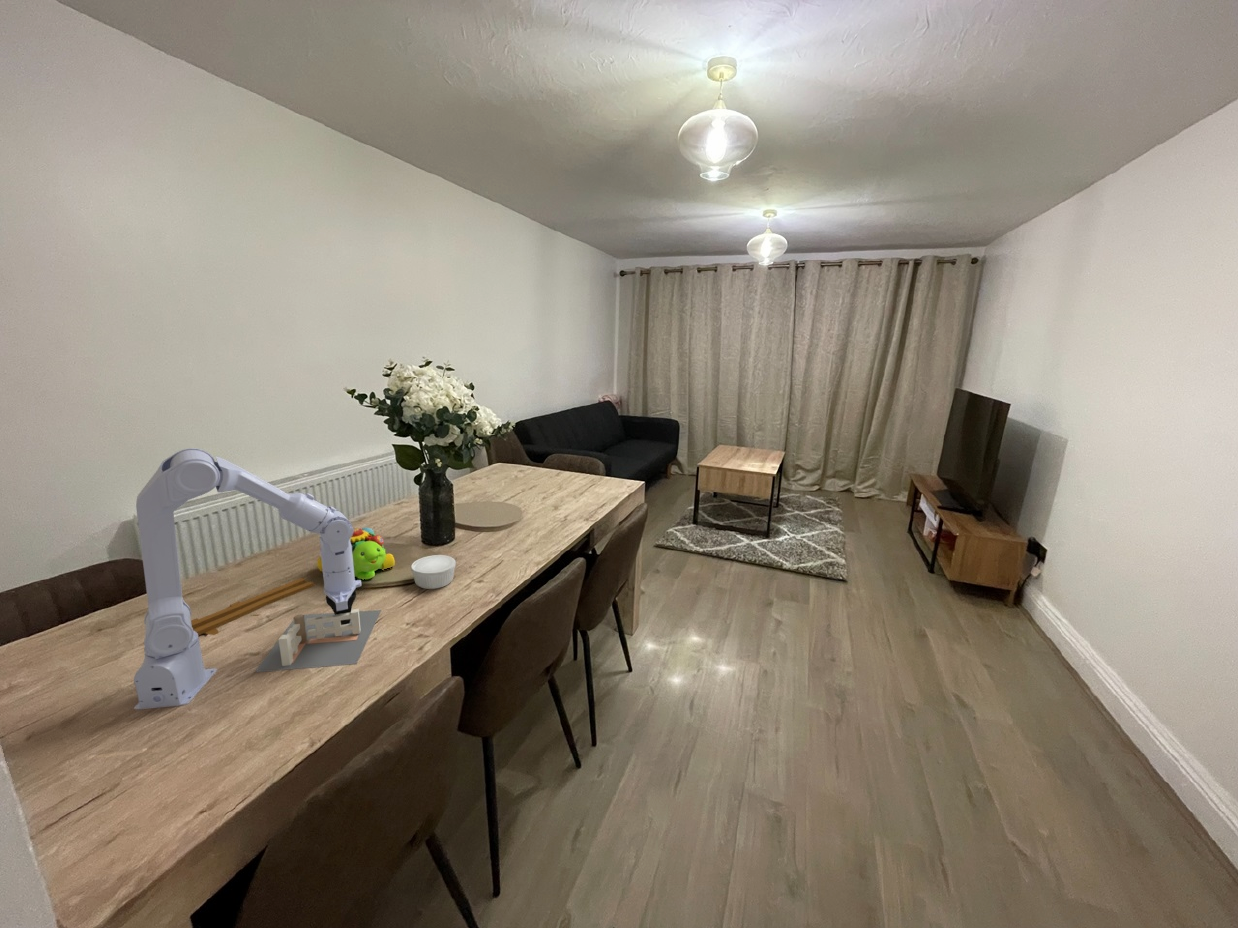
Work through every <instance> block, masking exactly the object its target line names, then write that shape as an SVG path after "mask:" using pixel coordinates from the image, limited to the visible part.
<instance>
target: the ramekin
mask: <svg viewBox="0 0 1238 928" xmlns="http://www.w3.org/2000/svg"><path fill="white" fill-rule="evenodd" d="M456 564H457V561H456V560H455V559H454V558H453V557H451V556H449V555H445V554H444V555H443V554H434V555H428V556H427V555H426V556H424V557H421V558H419V559H417V560H414V562H412V564H411V565H410V569H411V572H412V576H413V580H414V583H415V584H416V586H418V587H419V588H421V589H425V590H435V589H440V588H443V587H446V586H447V585H450V583H451V582H452V581H453V579H454V574H455V568H456Z"/></svg>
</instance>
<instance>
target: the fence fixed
mask: <svg viewBox="0 0 1238 928" xmlns="http://www.w3.org/2000/svg"><path fill="white" fill-rule="evenodd" d="M304 615H305V614H298V615H295V616H294V617H293V620H294V625H293V627H292V628H290V629H289V630H288V633H287V635H283V634H281V635H280V637H279V638H278V640H279V646H280V653H281V660H282V666H288V665H291V664H292V662H293V655H296V653H297V652H298V645H299V644H304V643H306V642H307V636H306V628H305V620H304Z"/></svg>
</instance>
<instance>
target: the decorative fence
mask: <svg viewBox="0 0 1238 928" xmlns="http://www.w3.org/2000/svg"><path fill="white" fill-rule="evenodd" d="M314 587H315V583H314V582H313V581H307V582H306V579H305V578H303V577H301V578H298V579H296V580H293V581H290V582H288V583H286V584H283V585H280V586H278V587H276V588H273V589H271V590H268V591H266V592H263V593H261V594H258V595H256V596H254V597H251V598H249V599H246V600H244V601H241V602H240V601H237V602H235V603H234V602H233V603H231V604H230V605H229V607H227V608H226V607H225V608H224V609H222V610H218V611H215V612H214V613H211V614H209V615H206V616H204V617H201V618H194V619H191V624H192V628H193V631H195V632H197V633H198V636H200V635H203V634H204V635H205V636H208V635H213V636H215V635H218V634H219V630H218V628H219V627H222V626H224V625H227V624H228V623H231V622H233V621H236V620H237V619H239V618H240V619H241V618H242V617H244V616H247V615H250V616H254V617H259V616H262V615H261V614H251V613H253V612H254V611H257V610H259V609H263V608H265V607H266V606H268V605H271V604H273V603H276V602H278V601H280V600H284V599H285V598H286V599H287V598H288V597H291V596H294V595H295V594H298V593H301V592H303V591H306V590H308V589H310V588H314Z"/></svg>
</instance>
